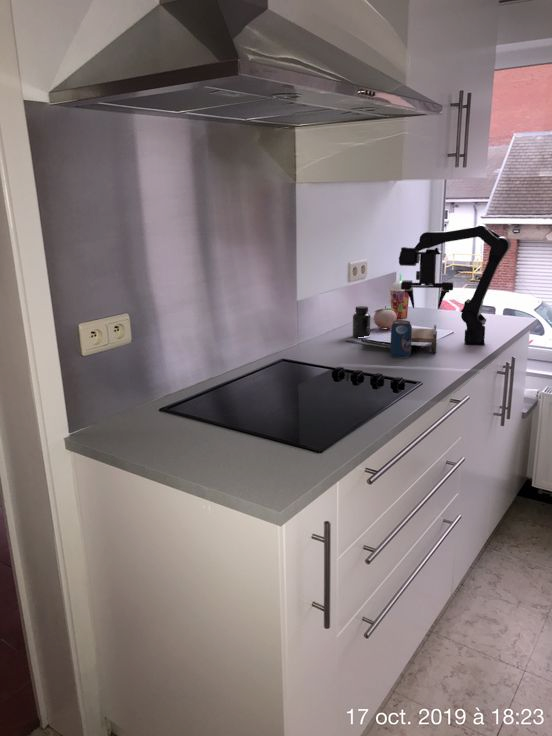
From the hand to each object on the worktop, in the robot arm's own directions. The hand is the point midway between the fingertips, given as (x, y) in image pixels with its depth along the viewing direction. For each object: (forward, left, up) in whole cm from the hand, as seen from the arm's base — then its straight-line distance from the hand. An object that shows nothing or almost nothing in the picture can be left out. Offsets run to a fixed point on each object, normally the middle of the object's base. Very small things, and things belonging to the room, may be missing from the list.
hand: (426, 308), depth 232 cm
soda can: (+7, +27, -12) cm, 30 cm away
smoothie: (+12, -36, -12) cm, 40 cm away
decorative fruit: (+16, -14, -12) cm, 25 cm away
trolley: (+2, +14, -12) cm, 19 cm away
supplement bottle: (+24, 0, -12) cm, 27 cm away
